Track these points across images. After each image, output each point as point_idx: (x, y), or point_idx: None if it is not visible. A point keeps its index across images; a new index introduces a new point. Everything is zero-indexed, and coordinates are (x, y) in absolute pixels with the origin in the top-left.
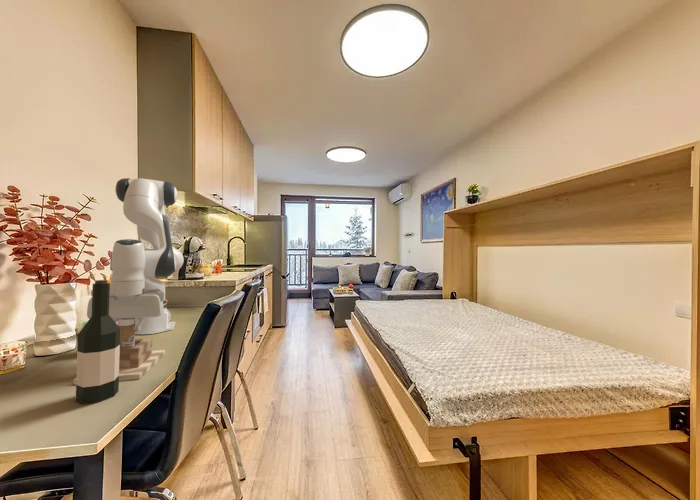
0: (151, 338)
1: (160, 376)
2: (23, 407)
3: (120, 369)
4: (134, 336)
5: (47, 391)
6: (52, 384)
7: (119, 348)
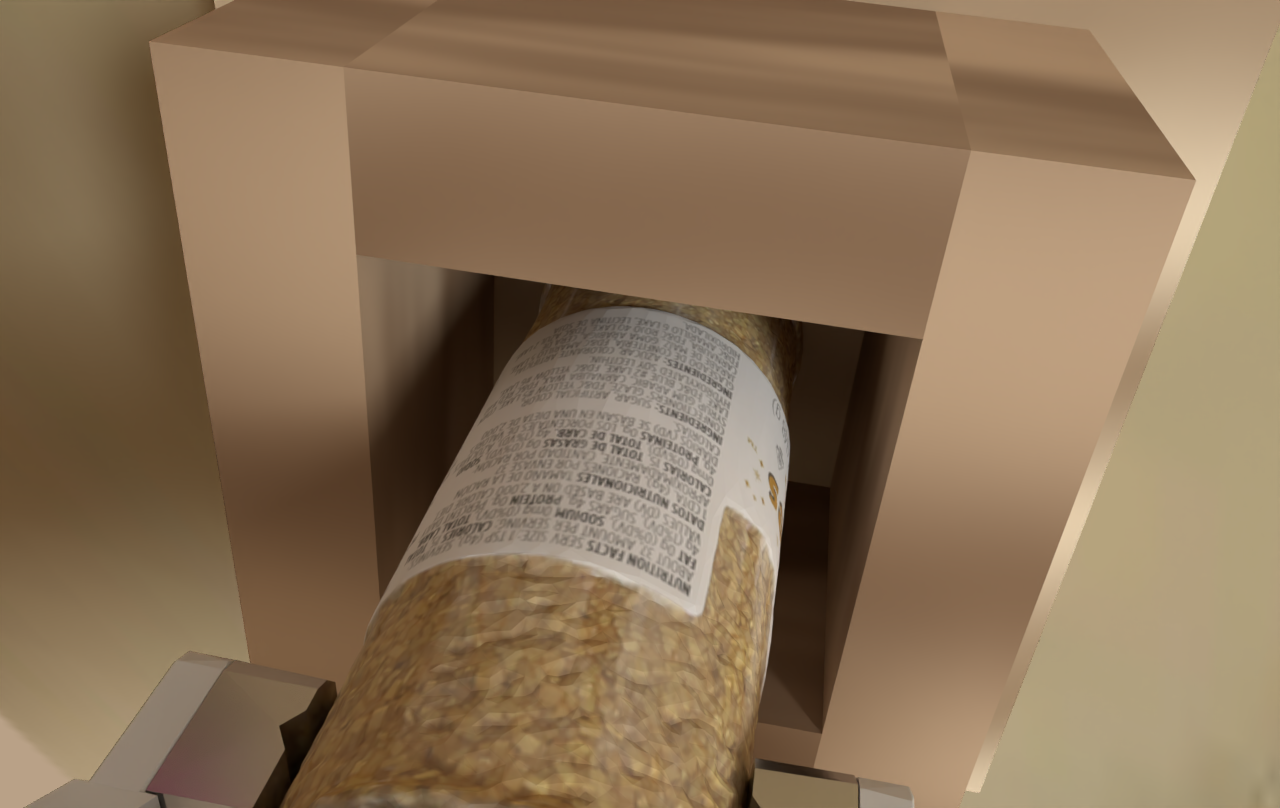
0: (1171, 216)
1: (1209, 760)
2: None
3: None
4: (761, 636)
5: None
6: (99, 527)
7: None
